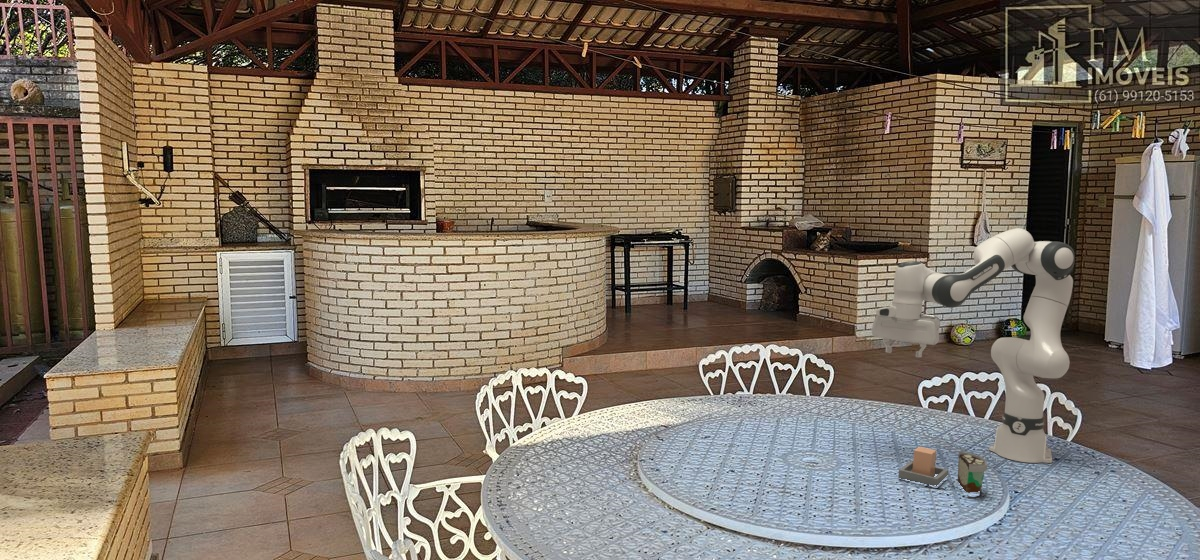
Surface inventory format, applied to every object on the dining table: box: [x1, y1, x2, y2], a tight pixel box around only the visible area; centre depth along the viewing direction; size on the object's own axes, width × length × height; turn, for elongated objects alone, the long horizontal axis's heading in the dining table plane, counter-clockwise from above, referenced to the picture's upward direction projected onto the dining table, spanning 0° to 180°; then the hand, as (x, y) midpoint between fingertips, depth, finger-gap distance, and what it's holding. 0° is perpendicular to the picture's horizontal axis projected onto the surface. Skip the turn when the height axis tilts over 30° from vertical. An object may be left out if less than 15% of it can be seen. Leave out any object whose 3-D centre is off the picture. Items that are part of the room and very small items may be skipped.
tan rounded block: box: [912, 446, 937, 477], centre depth 230 cm, size 5×5×8 cm
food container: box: [957, 451, 988, 493], centre depth 221 cm, size 12×6×10 cm, turn 168°
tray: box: [897, 460, 949, 486], centre depth 230 cm, size 11×11×3 cm
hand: (903, 354), depth 246 cm, fingers open, 8 cm apart
